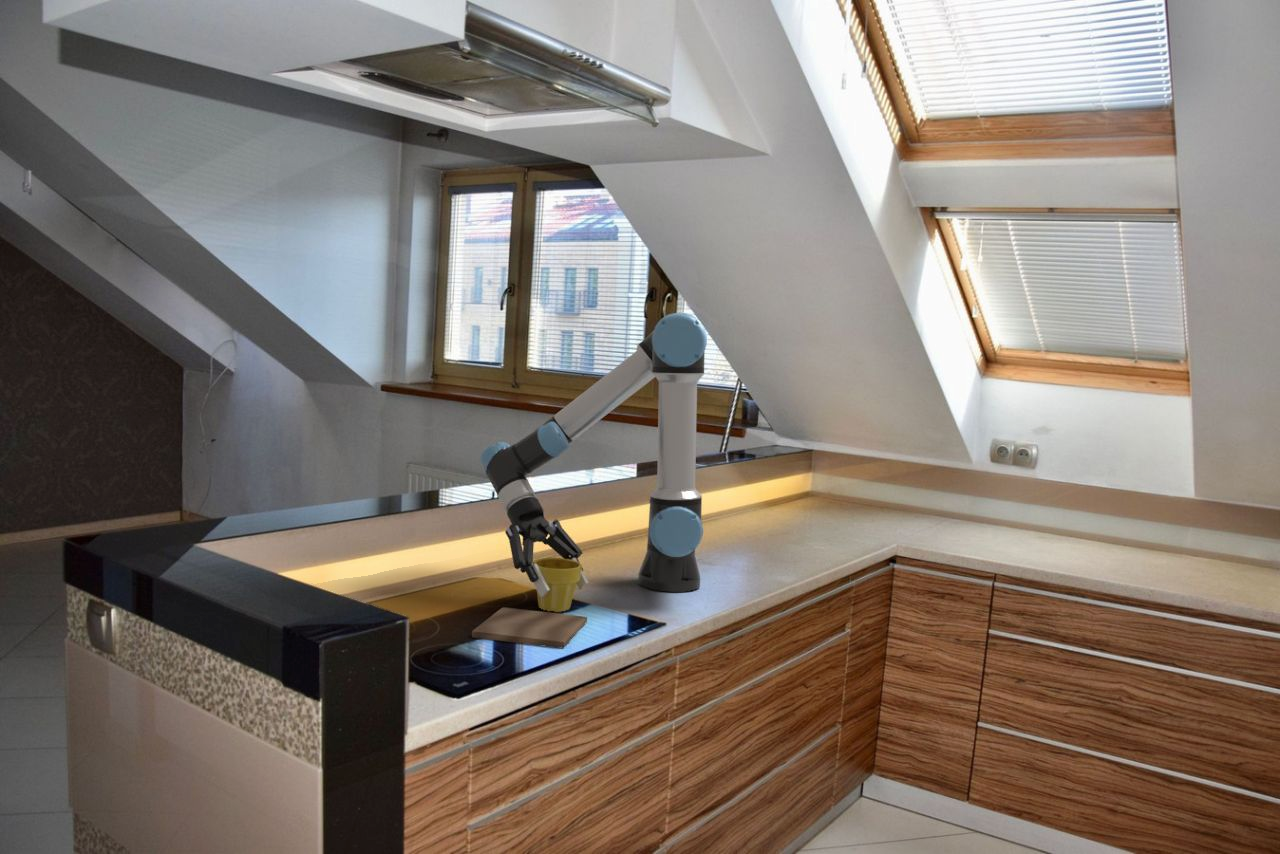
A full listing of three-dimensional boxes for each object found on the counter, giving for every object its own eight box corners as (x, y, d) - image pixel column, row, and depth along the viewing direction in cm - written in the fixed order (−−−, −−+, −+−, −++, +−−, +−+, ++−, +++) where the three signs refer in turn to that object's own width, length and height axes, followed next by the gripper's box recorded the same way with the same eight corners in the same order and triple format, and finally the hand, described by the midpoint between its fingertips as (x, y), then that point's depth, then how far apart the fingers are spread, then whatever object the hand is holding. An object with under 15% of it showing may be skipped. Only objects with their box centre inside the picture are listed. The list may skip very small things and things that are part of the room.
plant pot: (579, 615, 199) (582, 569, 199) (529, 613, 198) (532, 567, 198) (578, 602, 210) (581, 558, 209) (531, 600, 209) (533, 556, 208)
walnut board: (586, 622, 195) (587, 616, 195) (564, 648, 177) (564, 642, 177) (502, 612, 198) (502, 607, 198) (471, 637, 180) (472, 631, 180)
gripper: (551, 511, 222) (594, 592, 212) (471, 519, 205) (514, 607, 195) (568, 491, 217) (612, 573, 208) (488, 498, 201) (532, 587, 191)
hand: (565, 589), depth 202 cm, fingers closed on plant pot, 10 cm apart
